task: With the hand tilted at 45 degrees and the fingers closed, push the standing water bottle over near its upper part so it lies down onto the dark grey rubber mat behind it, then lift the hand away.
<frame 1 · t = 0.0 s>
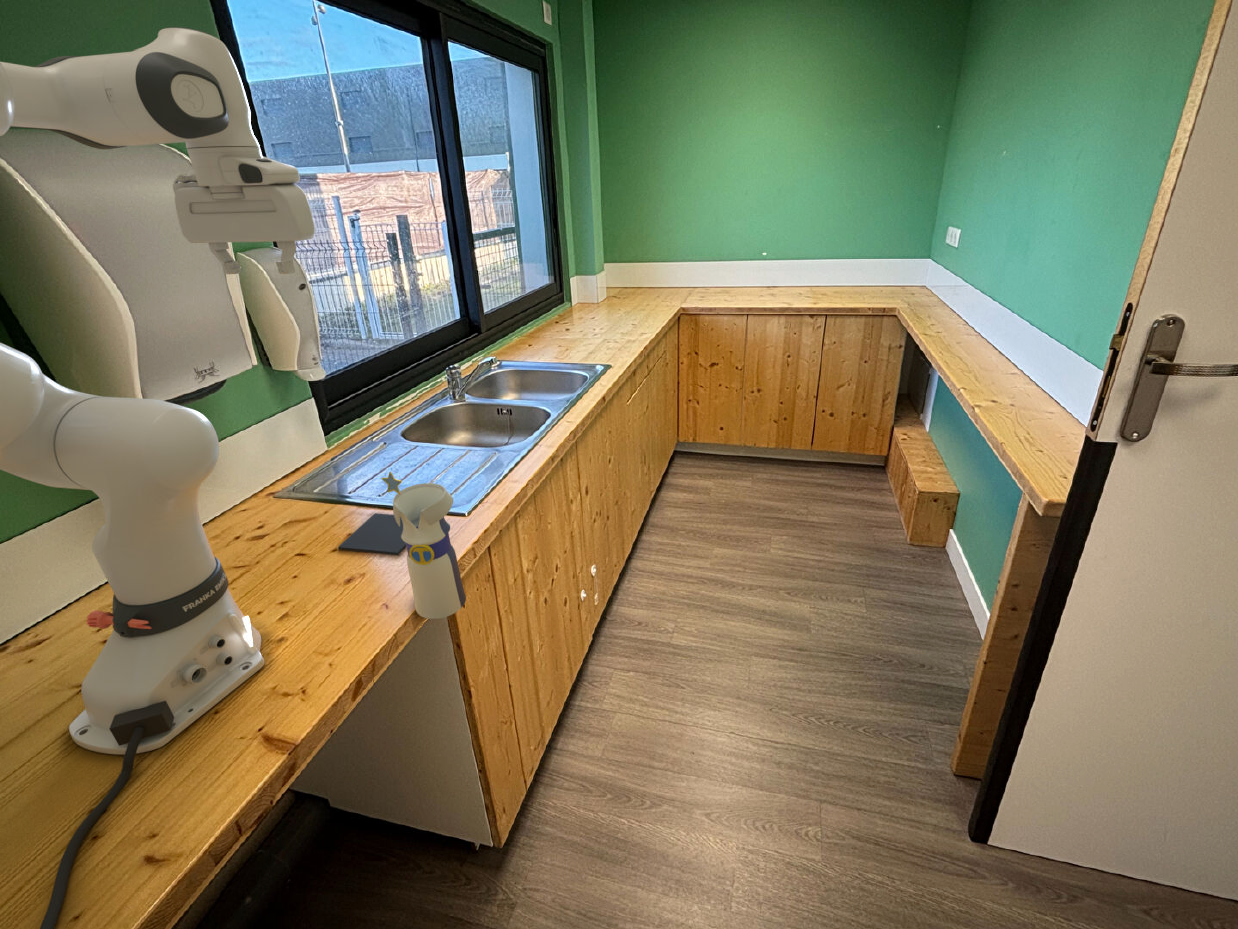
hand: (260, 273, 91), 48 cm above the countertop, tool pointing down, fingers open, 8 cm apart
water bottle: (442, 604, 94), on the countertop
mat: (386, 534, 113), on the countertop
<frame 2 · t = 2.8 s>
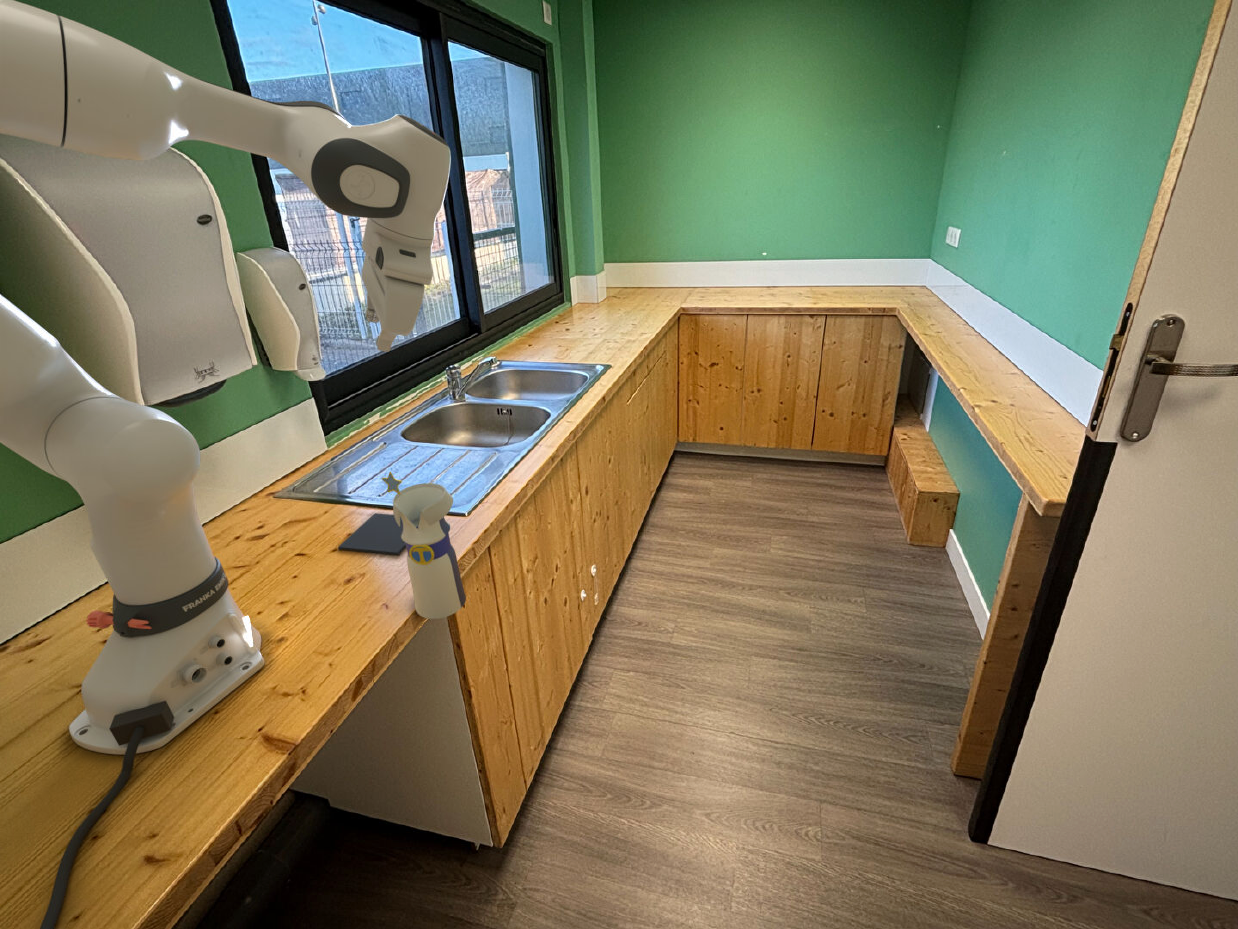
hand: (376, 334, 91), 39 cm above the countertop, tool tilted 25°, fingers open, 8 cm apart
nothing on the countertop moved.
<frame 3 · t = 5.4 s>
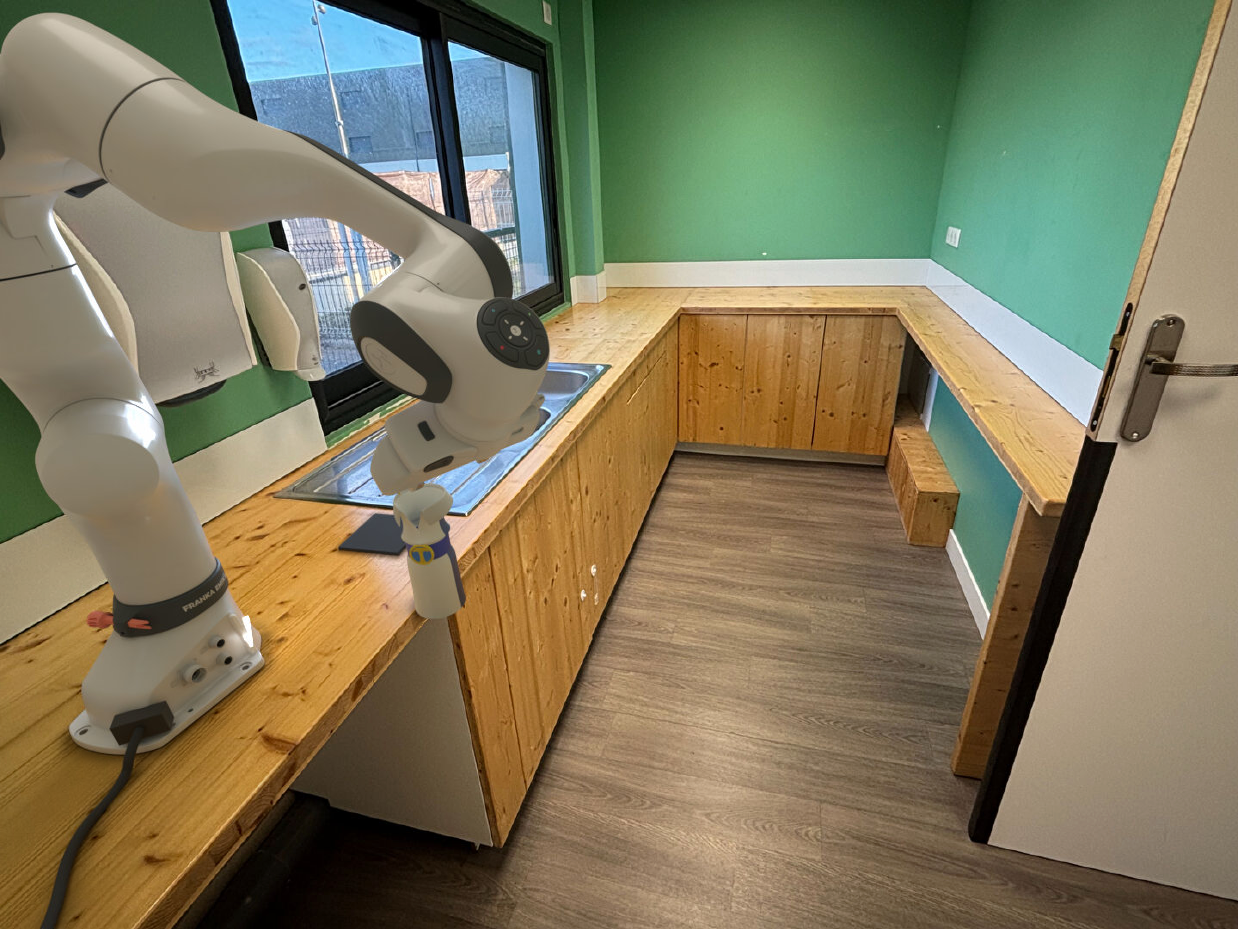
hand: (447, 470, 76), 27 cm above the countertop, tool tilted 45°, fingers open, 8 cm apart
nothing on the countertop moved.
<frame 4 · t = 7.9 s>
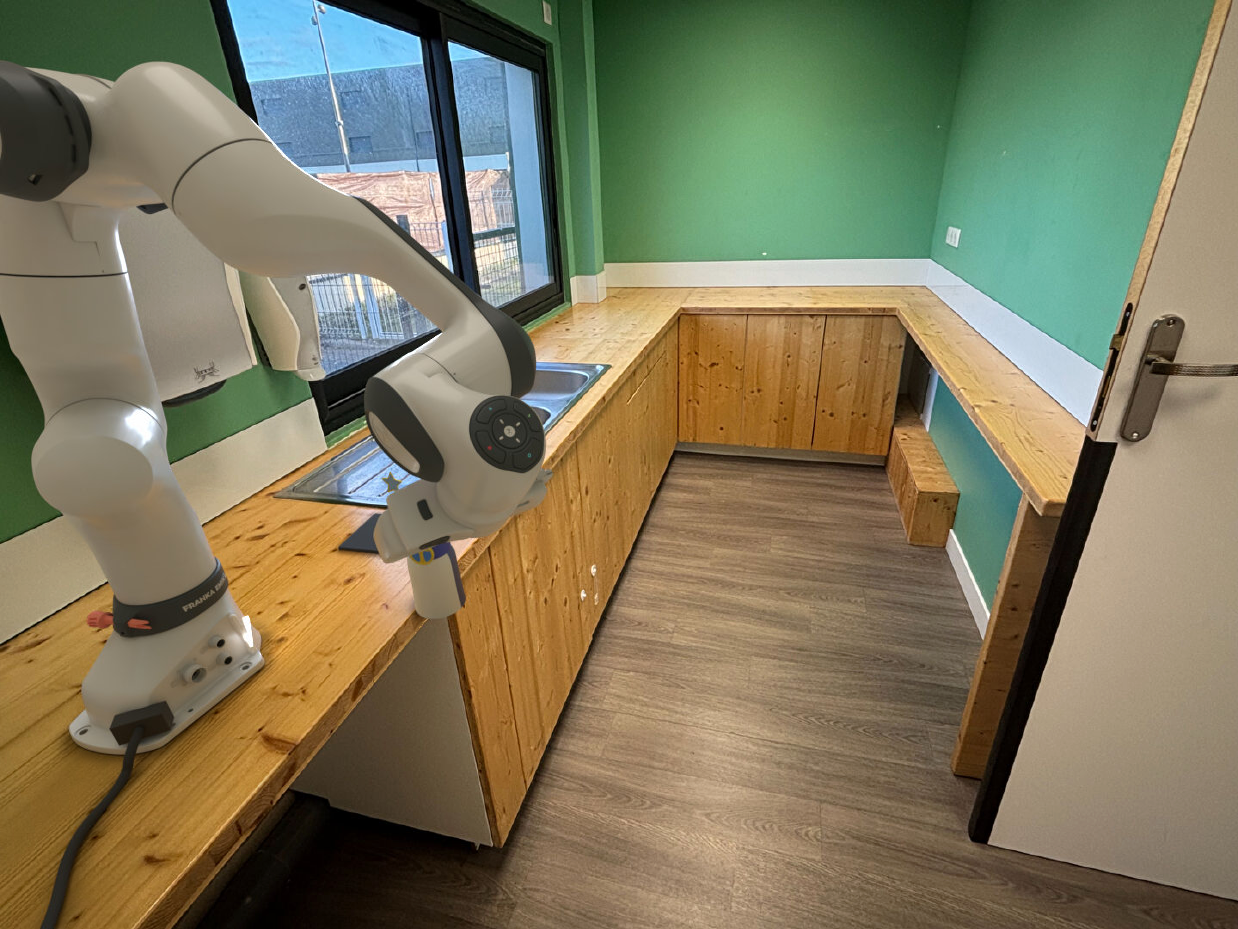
hand: (455, 533, 77), 19 cm above the countertop, tool tilted 45°, fingers closed
nothing on the countertop moved.
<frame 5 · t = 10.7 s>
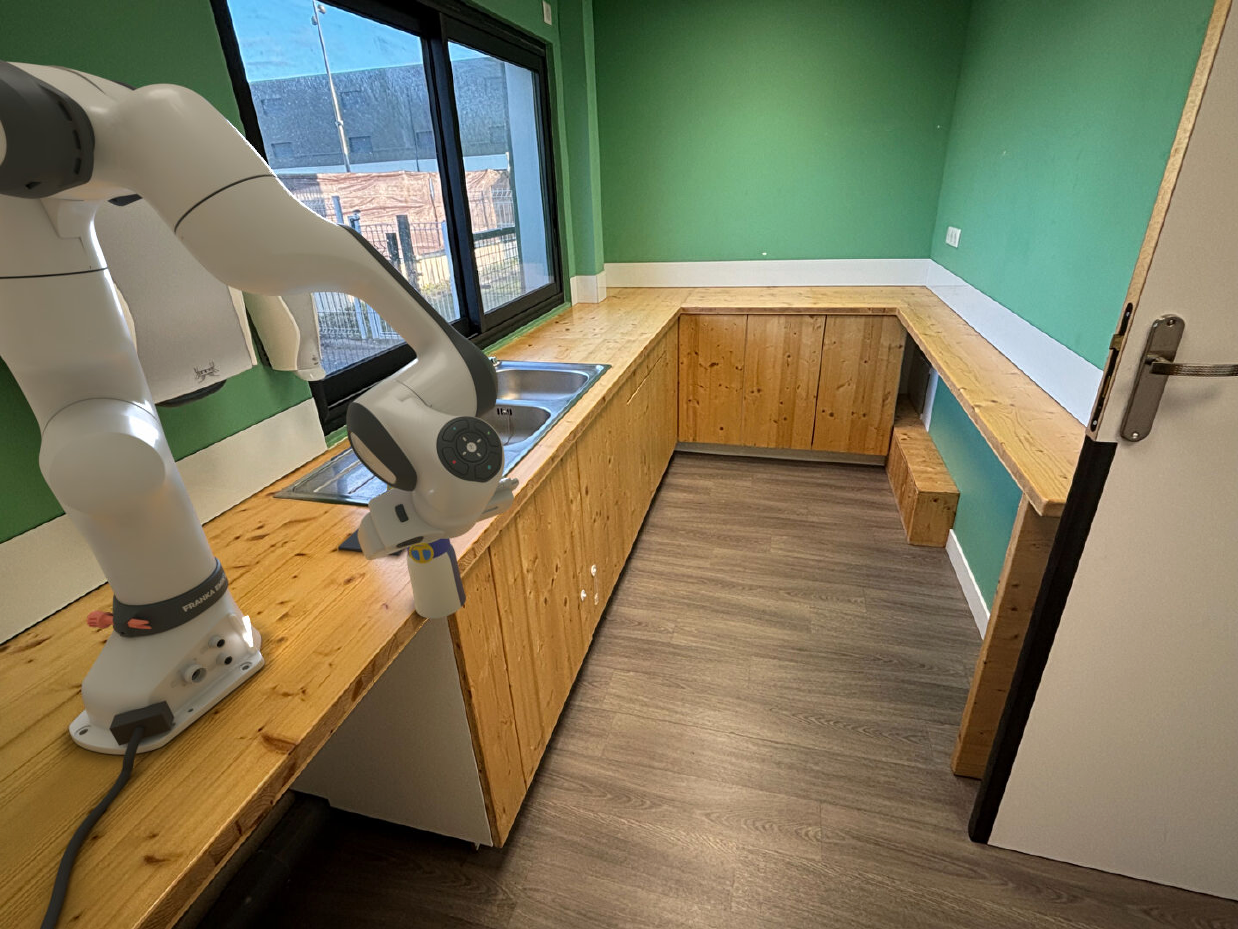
hand: (432, 534, 86), 14 cm above the countertop, tool tilted 45°, fingers closed, pressing on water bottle
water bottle: (442, 603, 94), on the countertop, touching gripper
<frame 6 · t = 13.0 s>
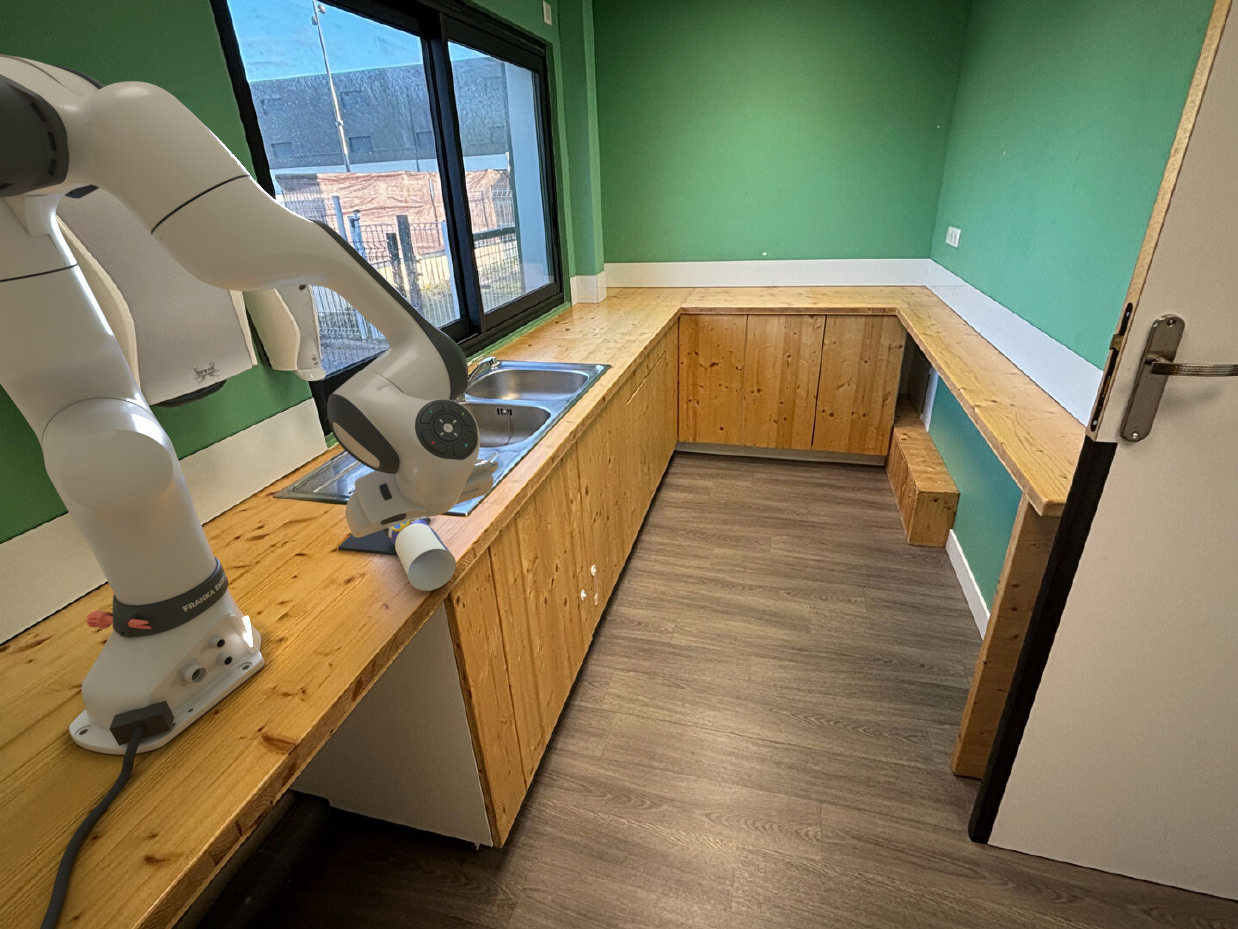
hand: (417, 515, 91), 14 cm above the countertop, tool tilted 45°, fingers closed
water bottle: (433, 569, 96), point 4 cm above the countertop, touching mat
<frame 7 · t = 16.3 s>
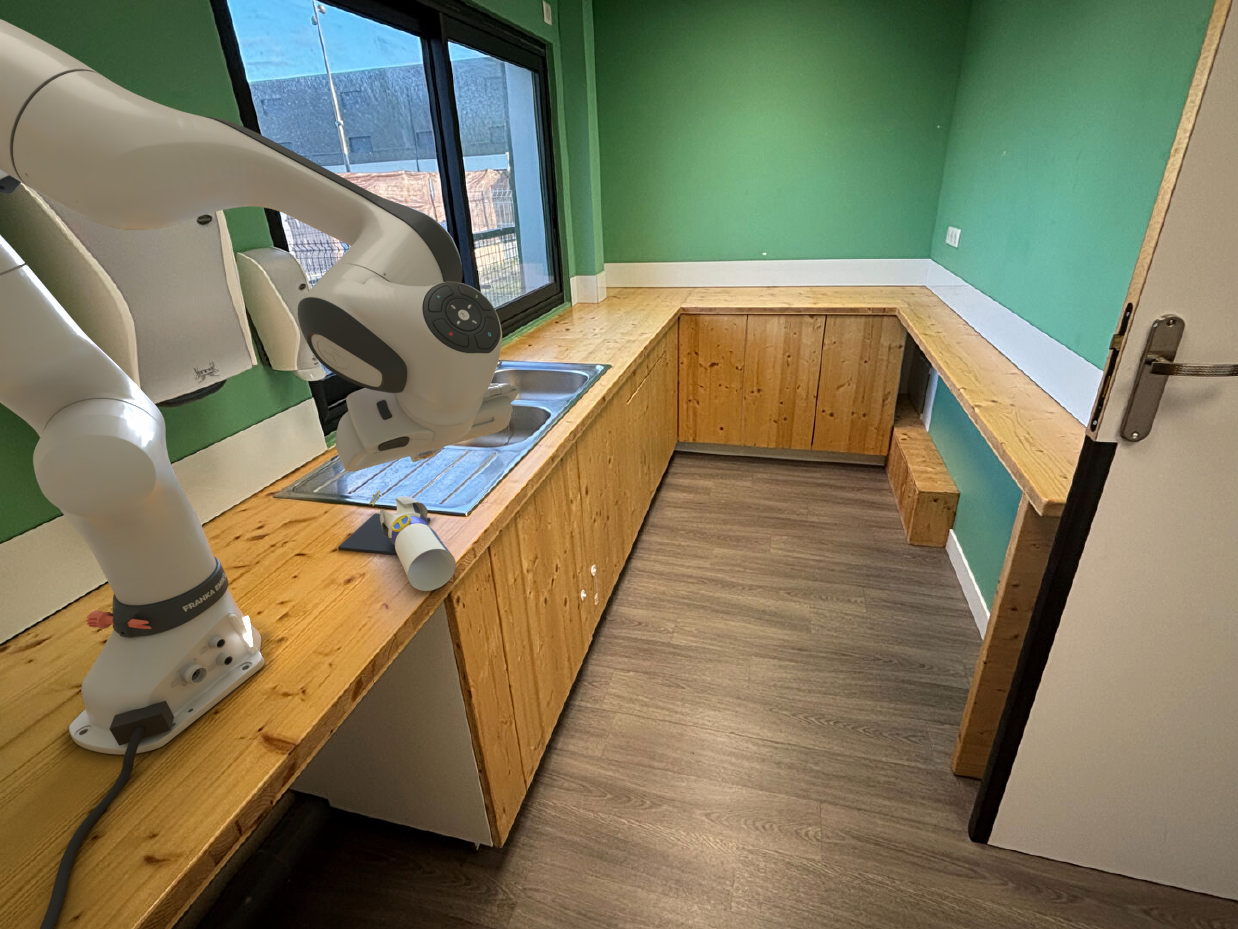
hand: (421, 454, 77), 28 cm above the countertop, tool tilted 45°, fingers closed
nothing on the countertop moved.
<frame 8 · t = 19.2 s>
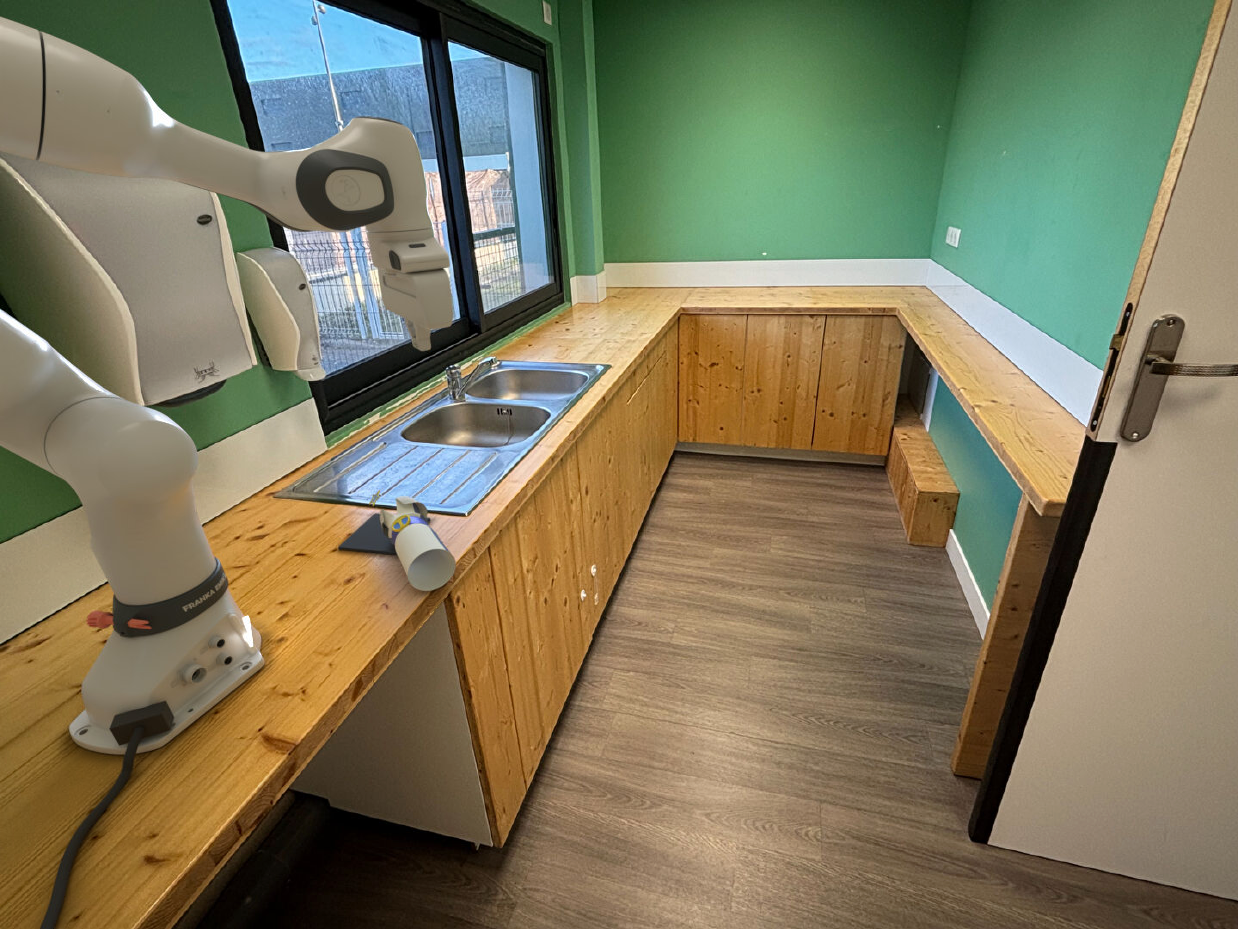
hand: (422, 348, 90), 37 cm above the countertop, tool pointing down, fingers closed
nothing on the countertop moved.
at the end: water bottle tilted 88°; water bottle touching mat, countertop; the gripper is holding nothing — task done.
